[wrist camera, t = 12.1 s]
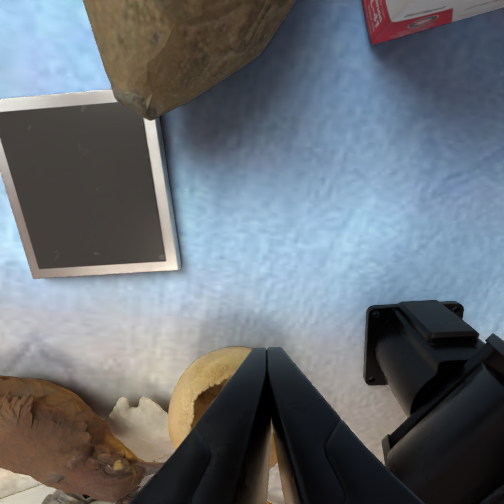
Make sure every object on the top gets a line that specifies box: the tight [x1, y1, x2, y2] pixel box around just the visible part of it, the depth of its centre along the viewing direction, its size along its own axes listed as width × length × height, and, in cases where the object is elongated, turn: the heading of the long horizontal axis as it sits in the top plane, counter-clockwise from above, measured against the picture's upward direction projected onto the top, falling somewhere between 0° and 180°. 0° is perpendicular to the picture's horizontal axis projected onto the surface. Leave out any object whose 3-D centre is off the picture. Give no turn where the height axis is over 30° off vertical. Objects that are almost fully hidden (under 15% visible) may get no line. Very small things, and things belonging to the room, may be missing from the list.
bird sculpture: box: [0, 376, 164, 503], centre depth 22 cm, size 7×25×5 cm, turn 80°
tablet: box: [0, 89, 181, 279], centre depth 19 cm, size 11×10×1 cm
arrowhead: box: [106, 397, 175, 462], centre depth 24 cm, size 7×2×10 cm
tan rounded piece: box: [168, 346, 277, 470], centre depth 20 cm, size 8×8×7 cm
